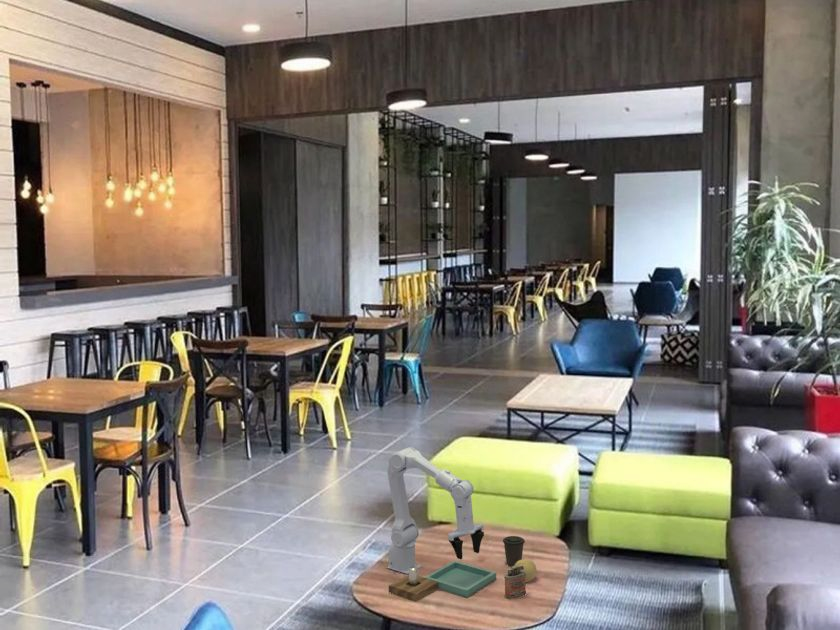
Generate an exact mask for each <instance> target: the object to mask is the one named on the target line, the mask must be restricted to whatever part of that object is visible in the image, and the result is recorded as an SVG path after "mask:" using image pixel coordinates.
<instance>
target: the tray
mask: <svg viewBox="0 0 840 630" xmlns="http://www.w3.org/2000/svg"><path fill="white" fill-rule="evenodd" d="M423 577H424V578H427V579H430V580H434V581H437V582H438V589H437V590H441V591H444V592H447V593H450V594H453V595H457V596H460V597H463V598H466V599H467V598H469V597H471V596H473V595H474V594H476V593H478V592H479V591H480V590H482V589H484V588H485V587H487V586H488V584H489V585H490V584H491V582H492V583H494V580H495V581H496V580H497V572H496V571H492V570H489V569H486V568H483V567H478V566H475V565H471V564H467V563H464V562H460V561H458V560H453V561H451V562H450V563H447V564H446V565H444V566H442V567H440V568H439V569H437V570H434V571H433V572H431V573H429V574H428V575H426V576H423Z"/></svg>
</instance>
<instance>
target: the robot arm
mask: <svg viewBox="0 0 840 630" xmlns="http://www.w3.org/2000/svg"><path fill="white" fill-rule="evenodd" d="M387 461H388V468H387V472H386V473H387V478H388V479H387V480H388V483H389V491H390V496H391V502H392V503H391V504H392V509H393V514H394V521H393V524H392V526H391V535H390V540H391V542H392V543H391V544H390V545H389V546H388V547H389V548H388V566H387V569H389V570H393V571H396V572H399V573H403V574H406V575H409V567H411V566H415V567H417V568H418V569H419V568H421V565H420V564H416V542H417V541H416V539H418V537H419V533H420V532H419V528H418V527H417V525H416V521H415V519H414V518H412V516H411V514H410V509H409V502H408V497H407V491H406V490H407V489H406V483H405V478H404V473H406V471H408V469H418V470H420V471H421V472H424V473H425V474H427V475H429V476H430V477H432V478H433V479H435V483H436V484H437V485H438V486H439V487H441V488H442V489H444V490H445V491H447V492H448V493H450V497H451V498H452V499H453V501H454V502H453V503H454V505H455V507H454V508H455V515H456V517H455V518H456V528H457V529H455V530H453V531H452V532H449V533H447V540H448V542H449V544H450V545H451V546H452V548H453V551H454V553H455V555H456V559H458V560H462V559H463V543H464V541H463V540H462V539H461V538H462V537H465V536H468V535H470V538H471V541H472V550H473V553H476V554H480V549H481V543H482V541H483V538H484V536H485V531H484V530H485V528H484V524H483V523H477V524H476V523H475V524H474V513H473V505H472V504H473V503H472V495H473V493H474V486H473V484H472V483H471V482H470V481H469V480H468V479H462V478H461V477H457V476H456V475H455V474H452V473H451V470H449V469H445V468H444V469H439V467H437V466H435V464H433V463H432V462H431V461H429V460H428V459H427V458H426V457H424V456H423V455H422V453H421V452H420V450H417V449H415V448H414V447H412V446H408V447H406V448H404V449H401V450H399V451H396V452H393V453H392V454H391V455H390V456H389V457H388V460H387Z"/></svg>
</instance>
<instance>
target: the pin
mask: <svg viewBox="0 0 840 630" xmlns="http://www.w3.org/2000/svg"><path fill="white" fill-rule="evenodd" d="M418 569H419V568H417V567H415V566H411V567H409V573H408V575H409V586H413V587H415V586H417V585H418V576H419V575H418V574H419V573H418V572H419V570H418Z"/></svg>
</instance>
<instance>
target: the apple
mask: <svg viewBox="0 0 840 630" xmlns="http://www.w3.org/2000/svg"><path fill="white" fill-rule="evenodd" d="M520 565H523V566H524V569H523V570H520V571H525V572H526V575H525V583H528V582H532V581H533V580H534V579H535V578H536V574H537V565H536V564H535V562H534V561H533V560H531V559H528V558H522V560H519V561H517V562H516V564H515V565H514V566H515V567H517V566H520Z"/></svg>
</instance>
